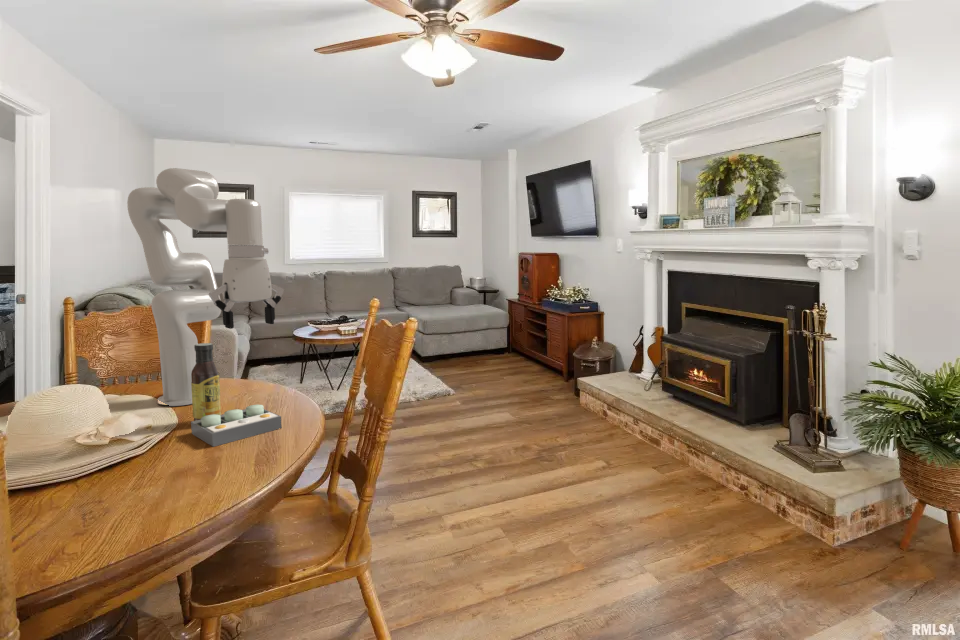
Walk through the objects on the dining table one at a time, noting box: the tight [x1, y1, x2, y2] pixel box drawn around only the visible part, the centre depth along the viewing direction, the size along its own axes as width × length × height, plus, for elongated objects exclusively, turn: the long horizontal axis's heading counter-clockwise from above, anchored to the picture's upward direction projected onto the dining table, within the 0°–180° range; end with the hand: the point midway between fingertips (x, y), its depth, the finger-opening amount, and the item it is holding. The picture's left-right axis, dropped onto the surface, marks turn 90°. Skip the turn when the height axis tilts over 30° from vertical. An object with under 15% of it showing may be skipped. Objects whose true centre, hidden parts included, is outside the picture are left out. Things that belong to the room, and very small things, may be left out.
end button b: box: [245, 404, 265, 417], centre depth 130 cm, size 4×4×3 cm
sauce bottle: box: [191, 342, 222, 421], centre depth 131 cm, size 7×6×20 cm
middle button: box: [223, 408, 243, 422], centre depth 126 cm, size 4×4×3 cm
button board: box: [190, 408, 282, 447], centre depth 125 cm, size 12×16×3 cm
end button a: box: [201, 414, 221, 428], centre depth 122 cm, size 4×4×3 cm
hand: (250, 325), depth 125 cm, fingers open, 9 cm apart
